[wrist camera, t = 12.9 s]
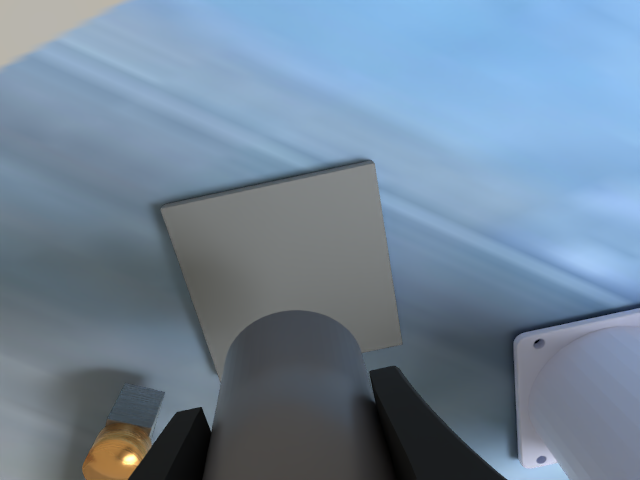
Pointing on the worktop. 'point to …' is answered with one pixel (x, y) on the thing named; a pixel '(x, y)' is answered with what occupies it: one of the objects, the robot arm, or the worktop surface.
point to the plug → (296, 405)
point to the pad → (288, 255)
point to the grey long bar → (124, 435)
